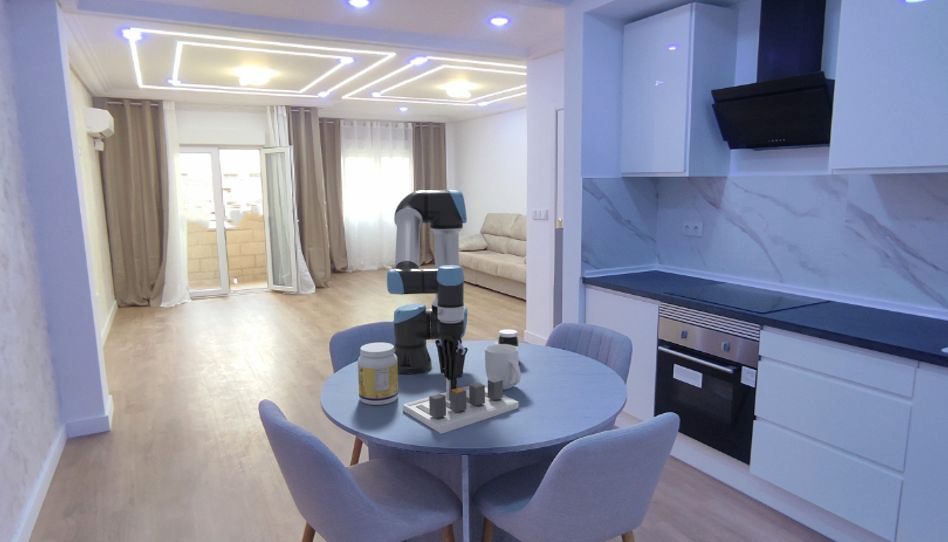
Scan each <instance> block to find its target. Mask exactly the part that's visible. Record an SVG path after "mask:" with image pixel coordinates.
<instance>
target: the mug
mask: <svg viewBox="0 0 948 542" xmlns="http://www.w3.org/2000/svg"><path fill="white" fill-rule="evenodd" d="M493 344H494V343H493ZM493 344H491V345H490V344H489V345H488V346H486V347H485V349H484V365H485V372H486V373H485V374H486V377H487V381H488V380H489V379H493V378H496V377H497V378H499V379H502V380H503V391H504V390H505V391H506V390H509V389H511V388H512V387H513V386H517V385H519V384H520V383H521V382H520V381H521V376H522V375H521V367H520V365H519V359H520V358H519V347H518V348H517V347H516V346H513V345H508V344H494V345H493Z"/></svg>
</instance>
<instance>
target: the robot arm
mask: <svg viewBox="0 0 948 542" xmlns="http://www.w3.org/2000/svg"><path fill="white" fill-rule="evenodd" d="M393 216H394V217H393V220H394V221H393V222H394V225H395V226H396V236H395V237H396V239H395V240H396V241H395V255H394V268H393V269H392V268H391V269H388V270H387V273H386V288H387V292H388V293H389V294H391V295H400V296H403V295H420V294H421V295H428V294H429V295H430V294H431V295H432V294H434V295H435V297H434V300H433V301H432V302H431V307H427V306H426V304H425V303H419V302H418V303H411V304H410V303H409V304H405V305H400V306H399V307H397V308H396V309H395V310H394V312H393V322H392V323H393V326H394V327H393V331H394V332H393V334H394V338H393V339H394V340H393V341H394V350H395V352H394V354H395V355H396V356H397V360H398V361H397V364H398V374H401V375H402V374H403V375H405V374H406V375H415V374H421V373H424V372H427V371H430V370H431V368H432V367H433V366H432V358H431V356H430V353H429V350H428V348H427V341H429V340H430V341H431V340H435V341H434V343H435V346H436V348H437V356H438V363H439V370H440V373H441V374H443V375H444V377H445V392H446V400H448V401H450V391H451V390H452V389H456V388H458V379H461V378H462V377H463V373H464V367H465V360H466V355H467V353H468V351H469V349H468V347H466V346H465V347H464V345H463V340H462V338H464V336H465V334H466V331H467V323H468V307H467V306H465V303H464V299H465V298H464V297H465V296H464V293H465V291H464V289H465V287H464V284H465V282H464V281H465V275H464V268H463V266H461V265H460V256H459V255H460V252H459V251H460V243H459V241H460V240H459V237H460V236H459V233H461V231H462V229H463V225H464V224H466V223H467V222H468V219H467V218H468V217H467V210H466V204H465V197H464V194H463V192H462V191H460V190H458V189H457V190H455V189H437V190H436V189H435V190H434V189H431V190H430V189H429V190H428V189H427V190H424V189H420V190H415V191H413V192H410V193H409V194H407V195H406V196H405V197H404V198H402V199H401V201H399V204H398V205H397V206H396V209H395V211H394V215H393ZM422 224H429V229H430V230H431V231H432V232H433V234H434V266H435V267H434V268H420V230H421V229H420V228H421V226H422Z"/></svg>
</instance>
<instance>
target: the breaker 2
mask: <svg viewBox="0 0 948 542" xmlns="http://www.w3.org/2000/svg"><path fill="white" fill-rule="evenodd" d="M462 388H463V387H457V388H456V389H452V390H451V391H450V409H451V410H453V411H455V412H459V411H462V410H465V409H466V391H465V390H464V389H462Z"/></svg>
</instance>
